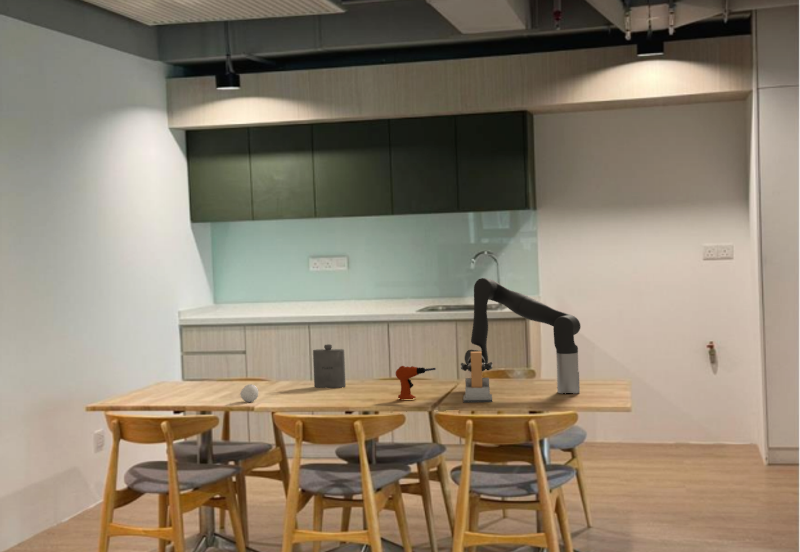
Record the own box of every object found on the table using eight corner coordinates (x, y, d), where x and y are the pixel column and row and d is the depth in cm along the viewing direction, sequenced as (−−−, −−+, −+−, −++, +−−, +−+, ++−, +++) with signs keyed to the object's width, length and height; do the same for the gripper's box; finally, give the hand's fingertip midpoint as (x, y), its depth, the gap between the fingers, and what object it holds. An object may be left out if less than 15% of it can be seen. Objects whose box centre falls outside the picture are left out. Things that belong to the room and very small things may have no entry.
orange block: (482, 391, 450) (481, 351, 449) (482, 393, 446) (481, 352, 445) (471, 391, 451) (470, 351, 450) (471, 393, 446) (470, 353, 445)
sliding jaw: (489, 393, 456) (488, 377, 455) (489, 394, 453) (488, 378, 452) (465, 394, 456) (465, 378, 456) (465, 395, 453) (465, 379, 453)
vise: (491, 396, 456) (491, 382, 456) (492, 402, 442) (491, 387, 442) (463, 397, 457) (463, 383, 457) (463, 402, 443) (462, 388, 443)
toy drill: (438, 397, 448) (432, 362, 448) (396, 402, 455) (391, 367, 455) (441, 396, 453) (436, 361, 453) (400, 400, 459) (395, 366, 459)
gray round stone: (249, 399, 470) (249, 382, 470) (262, 401, 465) (262, 383, 465) (237, 402, 463) (236, 385, 463) (250, 403, 459) (249, 386, 459)
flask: (312, 388, 498) (310, 345, 497) (316, 386, 504) (314, 344, 503) (343, 388, 495) (341, 345, 494) (346, 386, 500) (345, 343, 500)
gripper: (459, 355, 462) (459, 360, 445) (492, 354, 461) (493, 359, 444) (460, 372, 462) (459, 378, 445) (493, 371, 461) (494, 377, 444)
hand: (476, 369), depth 445 cm, fingers closed on orange block, 4 cm apart
